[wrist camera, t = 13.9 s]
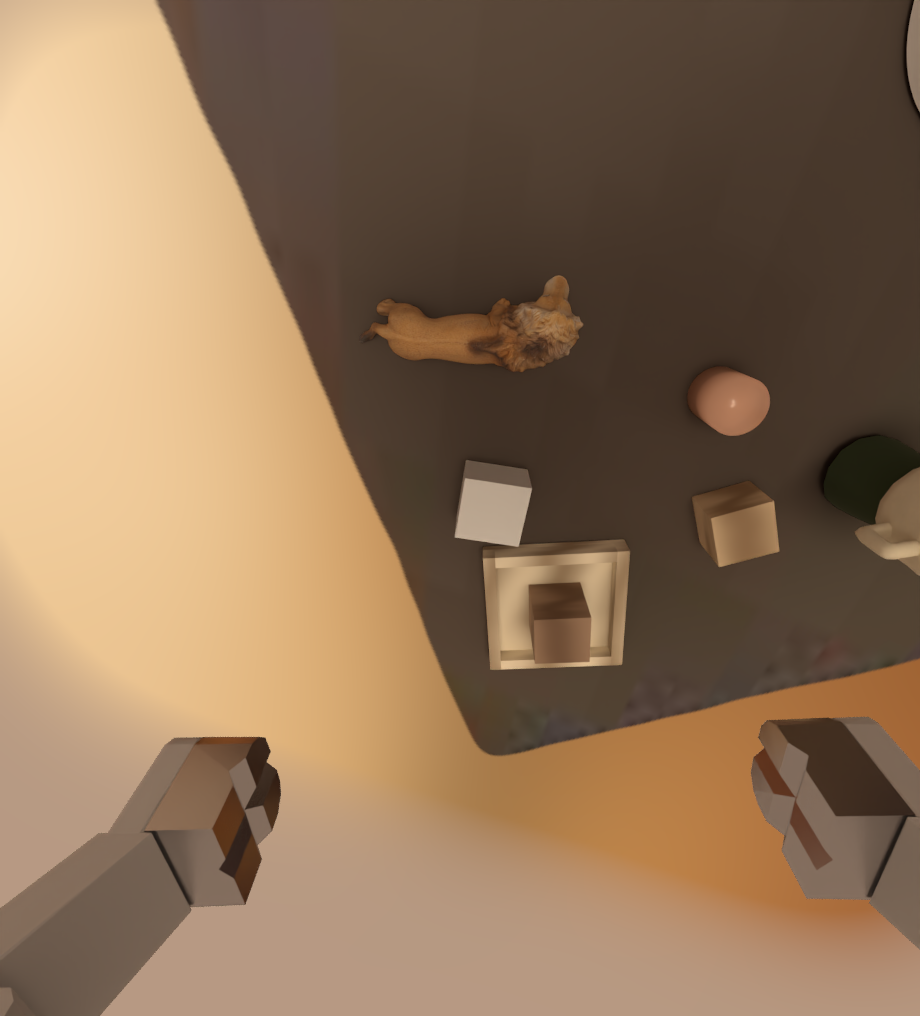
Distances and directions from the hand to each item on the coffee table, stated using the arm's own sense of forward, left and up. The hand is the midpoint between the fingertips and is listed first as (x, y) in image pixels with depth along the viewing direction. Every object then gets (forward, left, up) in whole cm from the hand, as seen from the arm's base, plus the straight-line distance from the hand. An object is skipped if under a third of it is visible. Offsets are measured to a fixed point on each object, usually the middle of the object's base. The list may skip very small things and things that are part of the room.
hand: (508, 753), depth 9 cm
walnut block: (-5, +21, -32) cm, 39 cm away
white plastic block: (0, +10, -33) cm, 35 cm away
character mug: (-29, +10, -33) cm, 45 cm away
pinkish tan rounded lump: (-17, +3, -33) cm, 37 cm away
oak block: (-19, +13, -33) cm, 40 cm away
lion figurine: (+1, -4, -33) cm, 34 cm away
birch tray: (-5, +21, -33) cm, 39 cm away
